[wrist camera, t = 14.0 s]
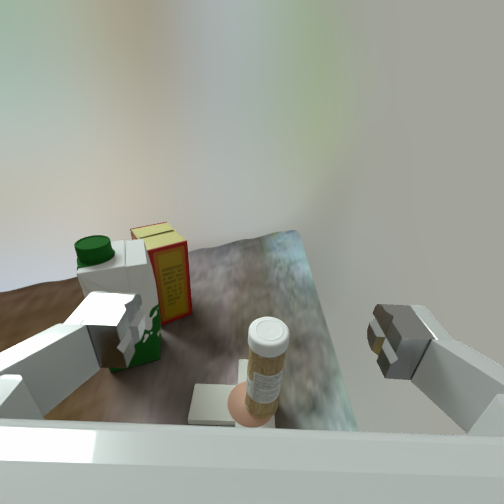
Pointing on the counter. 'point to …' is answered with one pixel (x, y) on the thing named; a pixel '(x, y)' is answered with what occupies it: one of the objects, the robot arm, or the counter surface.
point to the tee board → (225, 404)
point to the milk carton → (123, 284)
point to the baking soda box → (168, 269)
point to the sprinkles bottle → (265, 365)
